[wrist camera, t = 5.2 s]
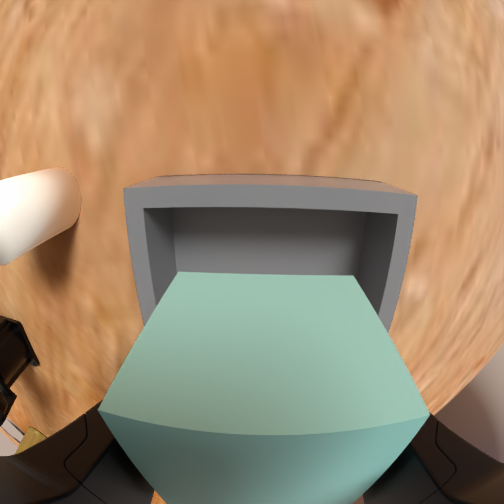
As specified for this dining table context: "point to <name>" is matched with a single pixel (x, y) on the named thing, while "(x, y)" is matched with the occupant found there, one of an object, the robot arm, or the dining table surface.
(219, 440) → the teal cube
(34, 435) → the vase
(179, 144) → the dining table surface
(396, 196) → the tote
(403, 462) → the robot arm
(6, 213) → the white cylinder
